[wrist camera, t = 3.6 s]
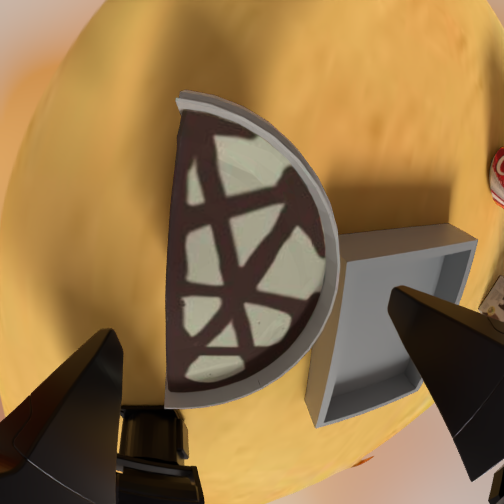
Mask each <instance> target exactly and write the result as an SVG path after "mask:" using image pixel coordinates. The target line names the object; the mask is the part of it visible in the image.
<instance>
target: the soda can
mask: <svg viewBox="0 0 504 504" xmlns="http://www.w3.org/2000/svg"><path fill="white" fill-rule="evenodd" d="M489 184H490V189H491V193H492V197H493V200H494V202H495V203H496V204H497V205H499V206H500V207H502V208H504V147H501V148H500V149H499V150H498V151H497V153H496V155H495V156H494V158H493V160H492V163H491V166H490V172H489Z"/></svg>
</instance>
